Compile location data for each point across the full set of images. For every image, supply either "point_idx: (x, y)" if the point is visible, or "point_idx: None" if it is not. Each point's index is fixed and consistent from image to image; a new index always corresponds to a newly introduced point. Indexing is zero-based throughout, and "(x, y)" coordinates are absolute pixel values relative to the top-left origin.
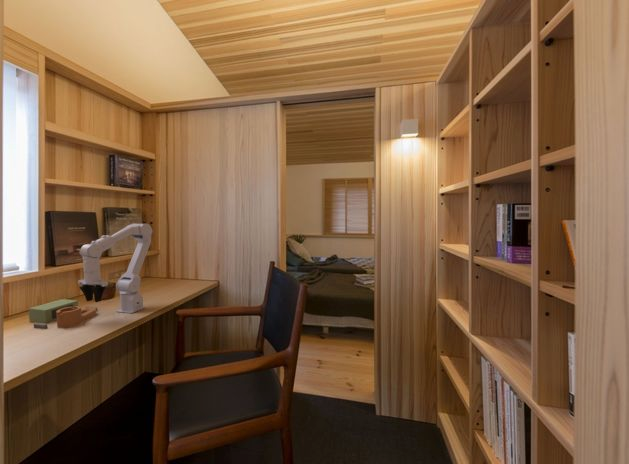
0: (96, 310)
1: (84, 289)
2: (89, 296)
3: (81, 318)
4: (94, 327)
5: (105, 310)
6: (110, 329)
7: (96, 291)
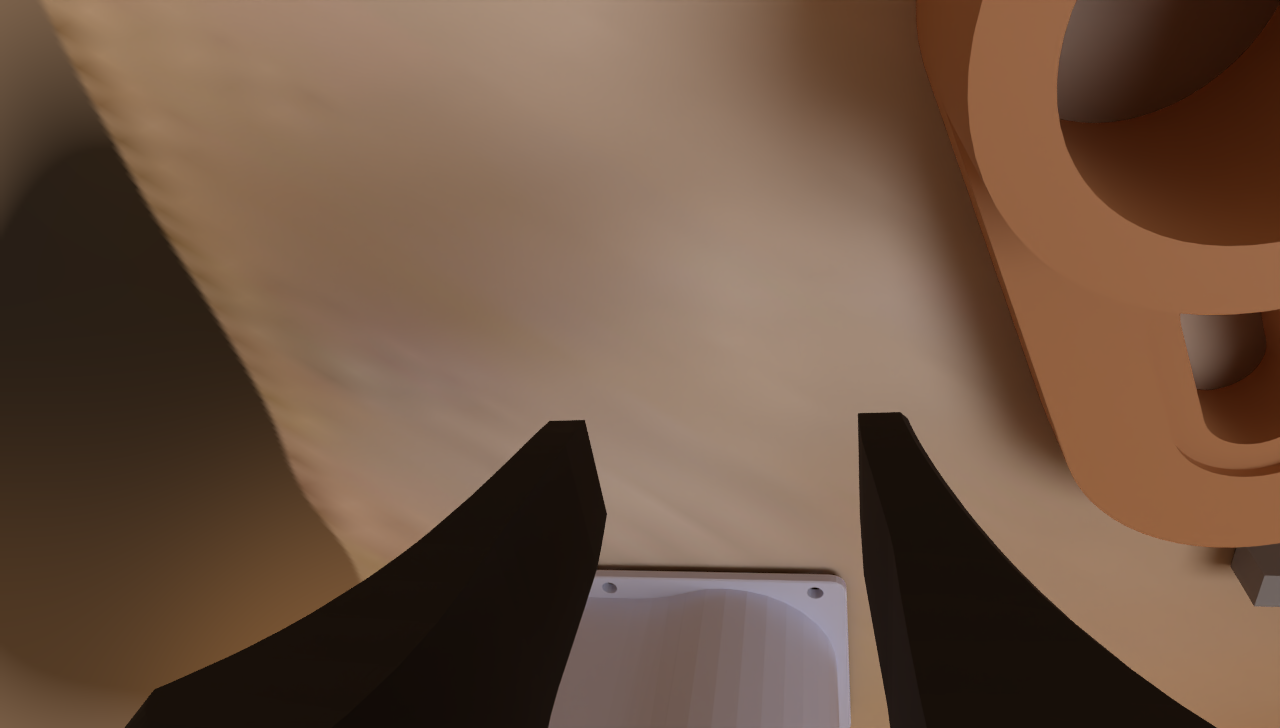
0: (1236, 558)
1: (919, 715)
2: (874, 552)
3: (955, 142)
4: (489, 55)
5: (1082, 586)
6: (191, 96)
7: (278, 647)
